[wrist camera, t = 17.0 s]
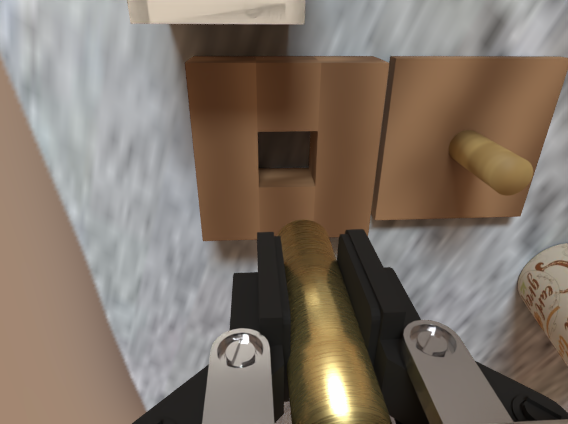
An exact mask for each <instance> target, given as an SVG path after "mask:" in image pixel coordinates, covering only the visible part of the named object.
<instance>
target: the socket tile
mask: <svg viewBox="0 0 568 424" xmlns="http://www.w3.org/2000/svg"><path fill="white" fill-rule="evenodd" d="M185 69H186V79H187V89H188V99H189V109H190V119H191V128H192V138H193V148H194V158H195V168H196V178H197V187H198V197H199V207H200V217H201V227H202V237H203V241H222V240H256V239H257V232H274V236H277V234H278V232H279V231H280V230H281V229H282V228H283V227H284V226H285V225H287V224H288V223H290V222H293V221H296V220H311V221H314V222H317V223H318V224H320V225H321V226H322V227H323V228H324V229H325V230H326V232H327V234H328V236H329V237H339V236H340V234H345V231H346V230H350V229H364V231H365V232H366V234H367V236H368V231H369V223H370V215H371V207H372V199H373V191H374V183H375V175H376V167H377V159H378V151H379V143H380V134H381V126H382V118H383V110H384V102H385V94H386V86H387V78H388V70H389V63H388V62H386V61H383V60H381V59H378V58H376V57H373V56H193V57H192V58H190V59H189V60H188V61H187V62H185ZM282 131H310V148H309V167H306V168H258V132H282Z"/></svg>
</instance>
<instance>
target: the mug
mask: <svg viewBox="0 0 568 424" xmlns="http://www.w3.org/2000/svg"><path fill="white" fill-rule="evenodd" d="M518 292H519V294H520V296H521V298H522V300H523V301H524V303H525V304H526V306H527V307H528V309H529V310H530V312H531V313H532V315H533V316H534V318H535V319H536V321H537V322H538V323H539V325H540V326H541V328H542V329H543V331H544V332H545V334H546V335H547V337H548V338H549V340H550V341H551V343H552V344H553V346H554V347H555V349H556V350H557V351H558V353H559V354H560V356H561V357H562V359H563V360H564V362H565V363H566V365H567V366H568V243H565V244H559V245H556V246H553V247H550V248H548V249H546V250H544V251H542V252H540V253H539V254H537V255H536V256H535V257H534V258H532V259H531V260H530V261H529V262H528V263H527V265H526V266H525V267H524V269H523V270H522V272H521V274H520V276H519V280H518Z"/></svg>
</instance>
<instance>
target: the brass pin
mask: <svg viewBox="0 0 568 424" xmlns="http://www.w3.org/2000/svg"><path fill="white" fill-rule="evenodd" d="M277 236H281V244H282V251H283V259H284V267H285V274H286V282H287V290H288V297H289V305H290V314H291V348H290V357H289V359H288V362H287V377H288V388H289V398H290V408H291V418H292V424H392V422H391V419H390V416H389V413H388V410H387V407H386V404H385V401H384V398H383V395H382V392H381V389H380V386H379V383H378V380H377V378H376V375H375V372H374V369H373V366H372V363H371V360H370V357H369V354H368V351H367V348H366V345H365V342H364V339H363V337H362V334H361V331H360V328H359V325H358V322H357V319H356V316H355V313H354V310H353V307H352V304H351V301H350V298H349V295H348V292H347V289H346V286H345V284H344V281H343V278H342V275H341V272H340V269H339V266H338V263H337V260H336V257H335V254H334V251H333V248H332V245H331V242H330V239H329V236H328V234H327V232H326V230H325V229H324V228H323V227H322V226H321V225H320V224H318V223H317V222H314V221H311V220H296V221H293V222H290V223H288V224H287V225H285V226H284V227H283V228H282V229H281V230H280V231H279V232H278V234H277Z"/></svg>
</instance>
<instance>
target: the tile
mask: <svg viewBox="0 0 568 424" xmlns="http://www.w3.org/2000/svg"><path fill="white" fill-rule="evenodd" d="M567 70H568V58H565V57H514V56H390V64H389V72H388V80H387V88H386V96H385V104H384V112H383V120H382V128H381V136H380V144H379V152H378V161H377V169H376V177H375V185H374V193H373V201H372V209H371V214H372V216H373V218H374V219H375V220H401V219H439V218H477V217H515V216H521V213H522V209H523V206H524V203H525V200H526V197H527V194H528V191H529V188H530V185H531V182H532V178H533V175H534V172H535V169H536V166H537V163H538V160H539V157H540V154H541V151H542V147H543V144H544V141H545V138H546V135H547V132H548V129H549V126H550V123H551V120H552V117H553V113H554V110H555V107H556V104H557V101H558V98H559V95H560V92H561V89H562V86H563V82H564V79H565V76H566V73H567Z"/></svg>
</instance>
